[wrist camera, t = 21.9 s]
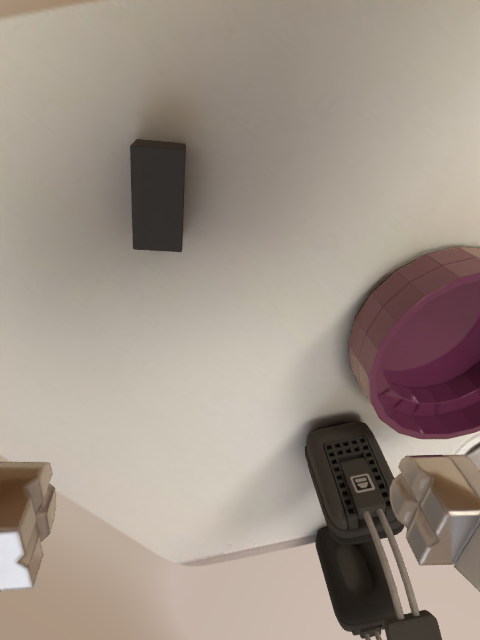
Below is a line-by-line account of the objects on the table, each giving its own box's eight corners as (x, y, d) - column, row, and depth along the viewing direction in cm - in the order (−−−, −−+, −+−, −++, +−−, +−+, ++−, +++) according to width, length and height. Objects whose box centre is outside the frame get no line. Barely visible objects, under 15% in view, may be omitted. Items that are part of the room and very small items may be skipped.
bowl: (373, 238, 30) (404, 263, 25) (554, 250, 32) (611, 276, 28) (329, 399, 37) (348, 440, 33) (479, 400, 39) (515, 438, 35)
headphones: (299, 420, 38) (394, 697, 21) (365, 406, 38) (514, 671, 21) (315, 553, 49) (385, 805, 32) (366, 542, 49) (463, 787, 32)
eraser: (136, 138, 25) (130, 144, 22) (185, 143, 25) (185, 150, 23) (137, 234, 28) (132, 249, 25) (182, 237, 28) (181, 252, 25)
